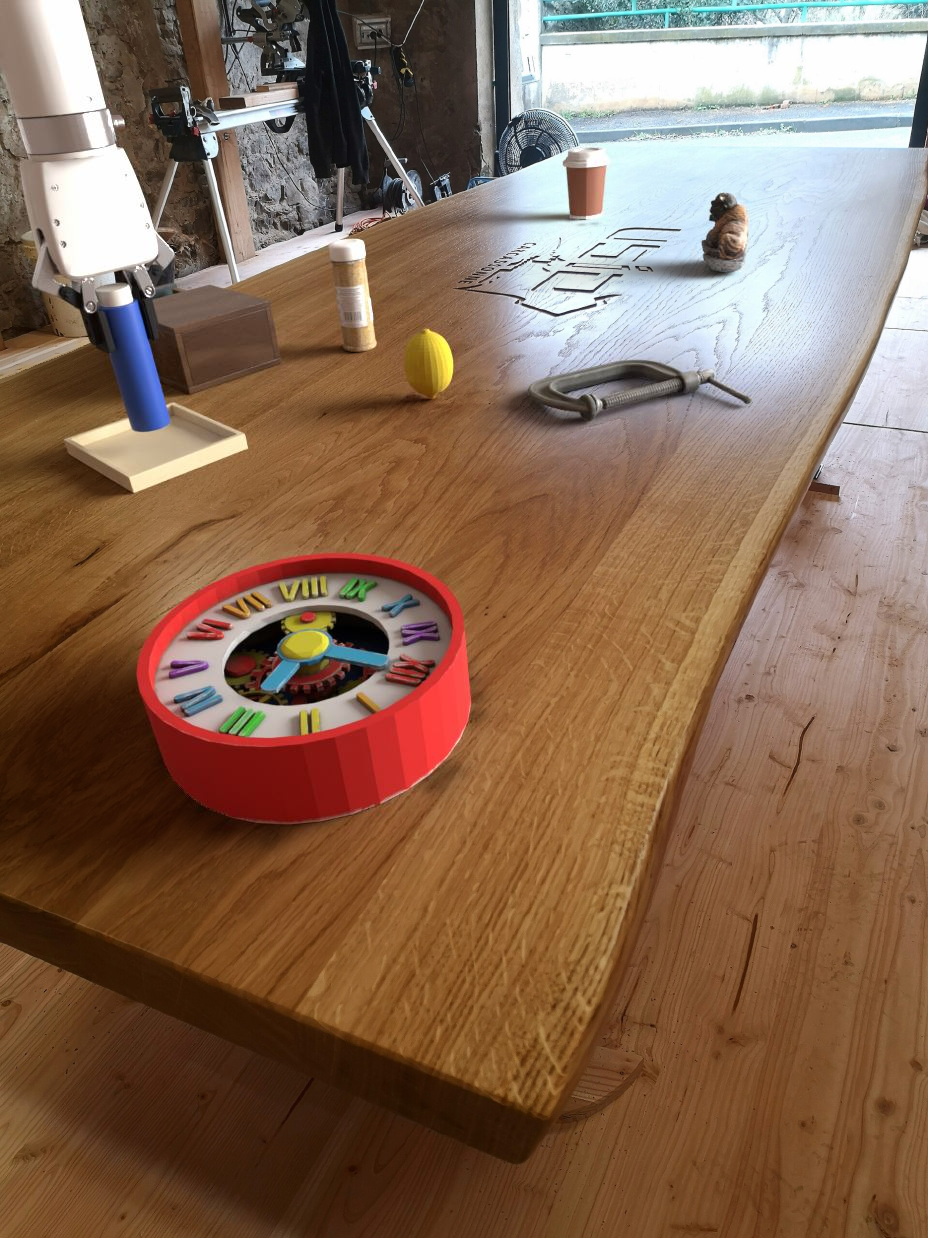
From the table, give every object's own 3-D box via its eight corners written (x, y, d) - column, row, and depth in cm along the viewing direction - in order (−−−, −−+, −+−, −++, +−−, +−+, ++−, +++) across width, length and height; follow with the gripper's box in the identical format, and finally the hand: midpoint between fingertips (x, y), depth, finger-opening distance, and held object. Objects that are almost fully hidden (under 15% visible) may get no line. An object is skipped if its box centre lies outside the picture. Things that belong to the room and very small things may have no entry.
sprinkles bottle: (382, 343, 121) (370, 237, 114) (366, 354, 118) (352, 246, 110) (353, 341, 123) (339, 236, 115) (336, 351, 120) (320, 245, 112)
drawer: (90, 344, 127) (76, 298, 124) (168, 322, 134) (157, 278, 130) (150, 368, 116) (136, 319, 113) (232, 343, 123) (221, 296, 119)
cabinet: (134, 371, 119) (116, 308, 114) (222, 343, 126) (209, 284, 122) (189, 394, 110) (173, 328, 105) (281, 363, 117) (269, 300, 113)
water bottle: (124, 426, 94) (83, 288, 86) (159, 414, 96) (121, 279, 88) (142, 435, 92) (101, 294, 84) (177, 422, 94) (140, 284, 86)
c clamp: (665, 359, 108) (666, 337, 107) (752, 405, 95) (755, 380, 93) (512, 391, 103) (511, 368, 102) (581, 445, 90) (582, 419, 88)
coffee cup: (585, 209, 186) (585, 145, 179) (618, 214, 180) (620, 147, 173) (553, 217, 182) (552, 151, 175) (586, 222, 176) (586, 154, 169)
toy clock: (253, 536, 66) (509, 574, 59) (268, 602, 69) (512, 646, 63) (62, 705, 51) (376, 782, 44) (93, 779, 54) (390, 861, 48)
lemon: (464, 393, 104) (459, 323, 99) (439, 410, 100) (433, 338, 95) (424, 387, 106) (417, 319, 102) (398, 403, 102) (390, 333, 98)
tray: (68, 453, 97) (63, 439, 96) (176, 415, 104) (173, 401, 103) (133, 493, 88) (128, 477, 87) (248, 448, 95) (245, 433, 94)
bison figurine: (751, 275, 136) (759, 204, 131) (704, 278, 137) (710, 206, 131) (738, 256, 146) (745, 189, 140) (694, 259, 147) (699, 192, 141)
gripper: (135, 123, 86) (183, 316, 96) (-44, 149, 77) (30, 360, 87) (174, 124, 81) (220, 328, 91) (-12, 153, 72) (62, 375, 82)
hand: (127, 341), depth 89 cm, fingers closed on water bottle, 4 cm apart
